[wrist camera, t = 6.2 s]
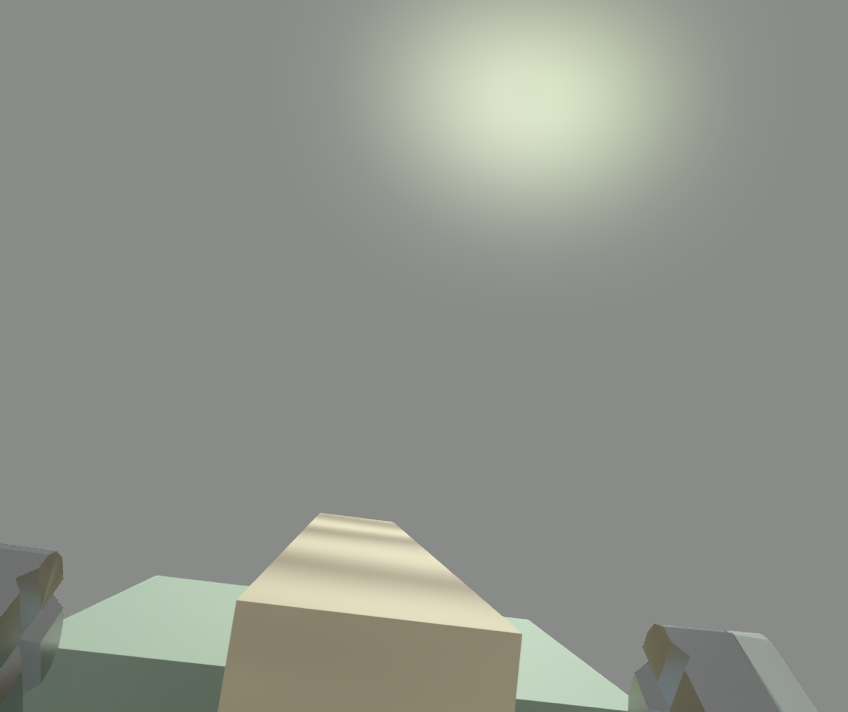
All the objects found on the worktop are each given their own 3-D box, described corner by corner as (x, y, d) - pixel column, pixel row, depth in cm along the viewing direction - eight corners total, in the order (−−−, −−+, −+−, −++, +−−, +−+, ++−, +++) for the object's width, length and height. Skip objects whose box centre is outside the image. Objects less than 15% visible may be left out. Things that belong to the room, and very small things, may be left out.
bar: (490, 952, 6) (522, 634, 6) (179, 928, 6) (236, 600, 6) (382, 597, 25) (393, 522, 25) (308, 588, 24) (320, 512, 25)
